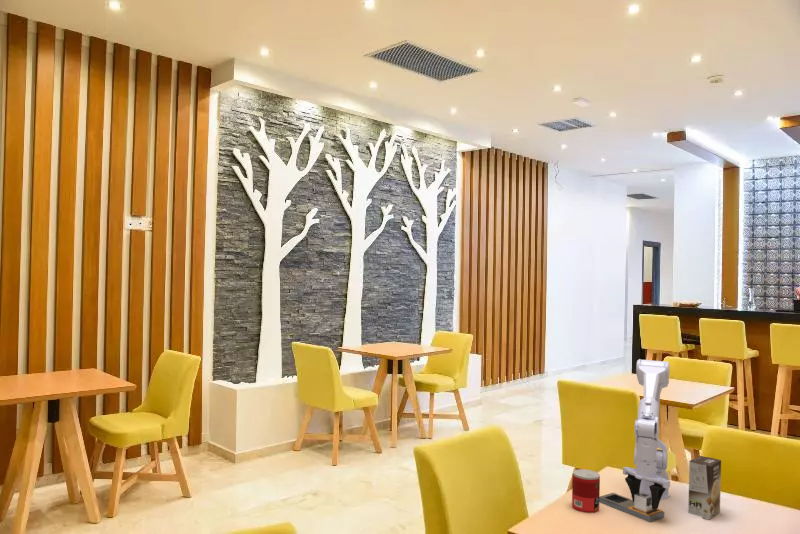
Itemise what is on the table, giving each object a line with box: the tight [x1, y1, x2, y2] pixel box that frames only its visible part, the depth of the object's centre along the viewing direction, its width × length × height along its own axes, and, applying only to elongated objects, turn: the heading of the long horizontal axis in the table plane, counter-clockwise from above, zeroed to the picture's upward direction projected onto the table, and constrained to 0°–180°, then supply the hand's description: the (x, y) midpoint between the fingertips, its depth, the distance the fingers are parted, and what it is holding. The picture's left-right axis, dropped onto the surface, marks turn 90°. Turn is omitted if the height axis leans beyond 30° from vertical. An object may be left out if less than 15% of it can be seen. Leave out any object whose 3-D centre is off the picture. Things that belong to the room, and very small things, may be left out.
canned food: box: [571, 468, 601, 514], centre depth 187 cm, size 8×8×11 cm
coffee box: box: [687, 455, 722, 520], centre depth 186 cm, size 9×6×16 cm
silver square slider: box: [634, 492, 654, 514], centre depth 182 cm, size 4×4×6 cm
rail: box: [599, 492, 665, 523], centre depth 186 cm, size 7×18×2 cm, turn 34°
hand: (645, 504), depth 182 cm, fingers open, 6 cm apart
